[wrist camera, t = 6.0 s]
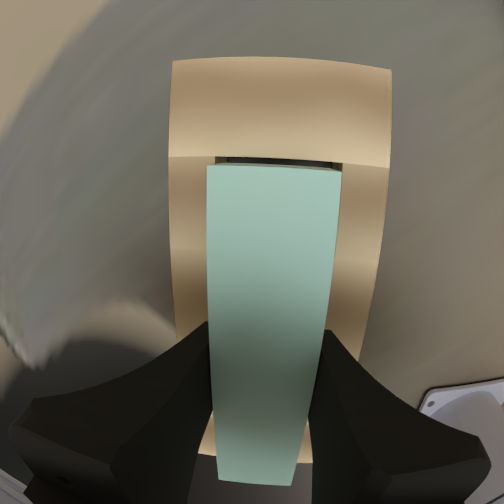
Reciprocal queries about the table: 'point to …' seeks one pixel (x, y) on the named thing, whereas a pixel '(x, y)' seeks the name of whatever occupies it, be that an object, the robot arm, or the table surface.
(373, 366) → the table surface
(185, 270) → the slotted rail
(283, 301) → the mint green plank
